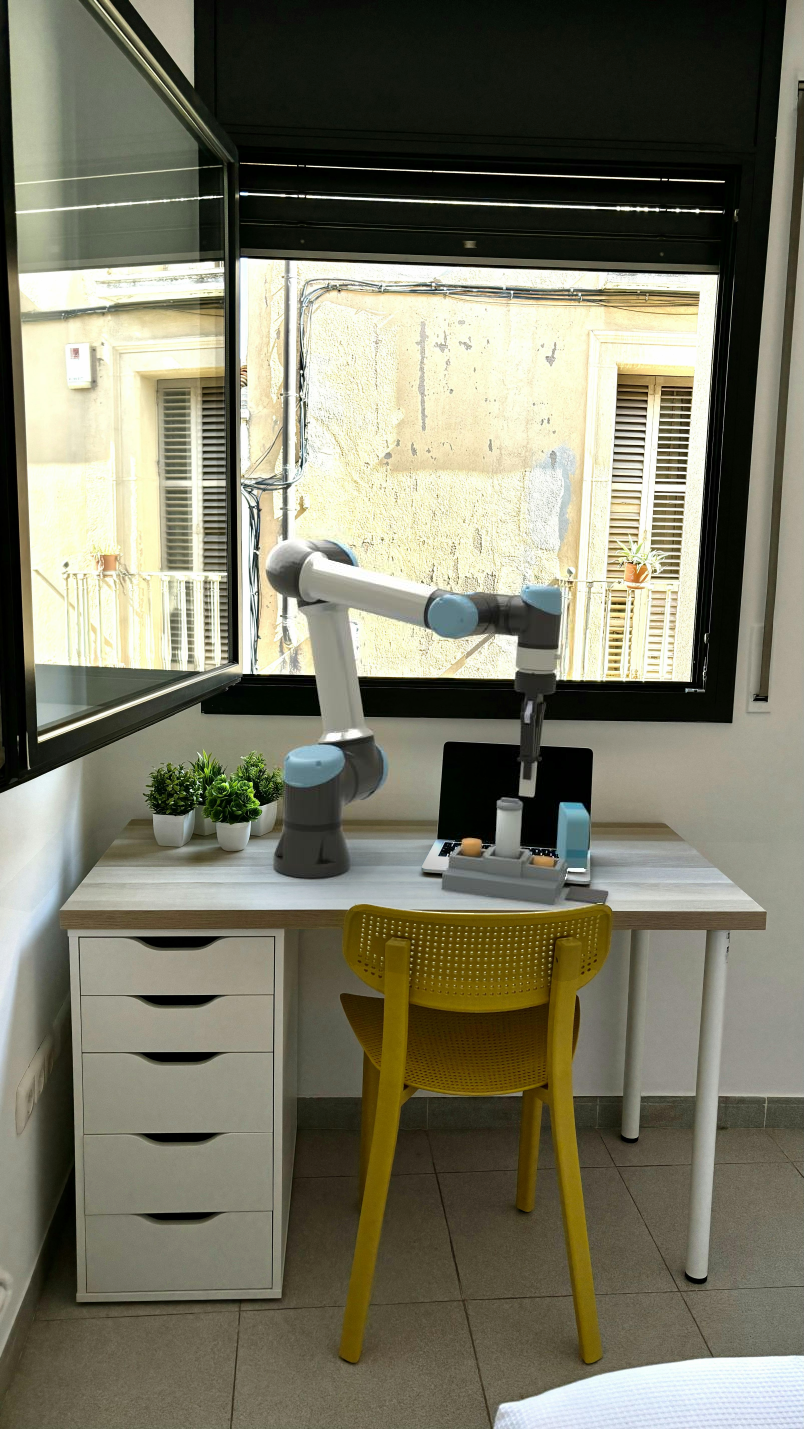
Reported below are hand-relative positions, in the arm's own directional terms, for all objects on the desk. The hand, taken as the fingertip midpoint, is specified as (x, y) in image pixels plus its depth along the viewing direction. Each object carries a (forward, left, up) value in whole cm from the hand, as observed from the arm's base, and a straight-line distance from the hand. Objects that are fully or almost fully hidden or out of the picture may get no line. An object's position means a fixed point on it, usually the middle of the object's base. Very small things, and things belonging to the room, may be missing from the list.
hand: (526, 795), depth 184 cm
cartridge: (-3, 0, -15) cm, 15 cm away
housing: (-3, 0, -18) cm, 18 cm away
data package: (+7, +17, -18) cm, 26 cm away
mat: (+12, -1, -18) cm, 22 cm away
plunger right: (+4, 0, -14) cm, 15 cm away
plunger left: (-10, 0, -13) cm, 16 cm away
